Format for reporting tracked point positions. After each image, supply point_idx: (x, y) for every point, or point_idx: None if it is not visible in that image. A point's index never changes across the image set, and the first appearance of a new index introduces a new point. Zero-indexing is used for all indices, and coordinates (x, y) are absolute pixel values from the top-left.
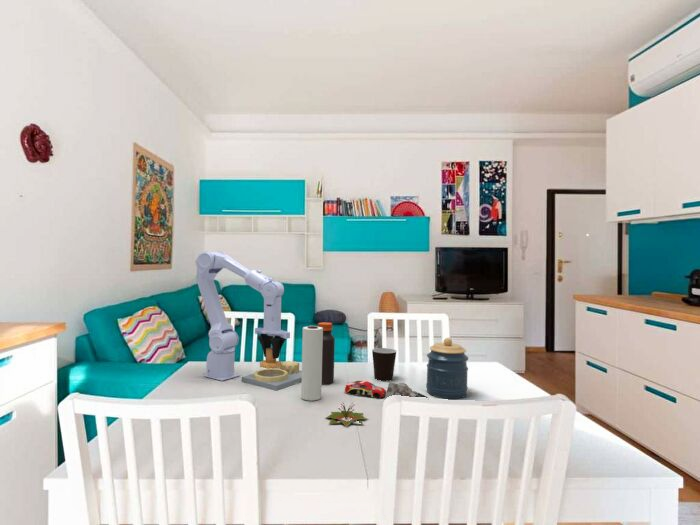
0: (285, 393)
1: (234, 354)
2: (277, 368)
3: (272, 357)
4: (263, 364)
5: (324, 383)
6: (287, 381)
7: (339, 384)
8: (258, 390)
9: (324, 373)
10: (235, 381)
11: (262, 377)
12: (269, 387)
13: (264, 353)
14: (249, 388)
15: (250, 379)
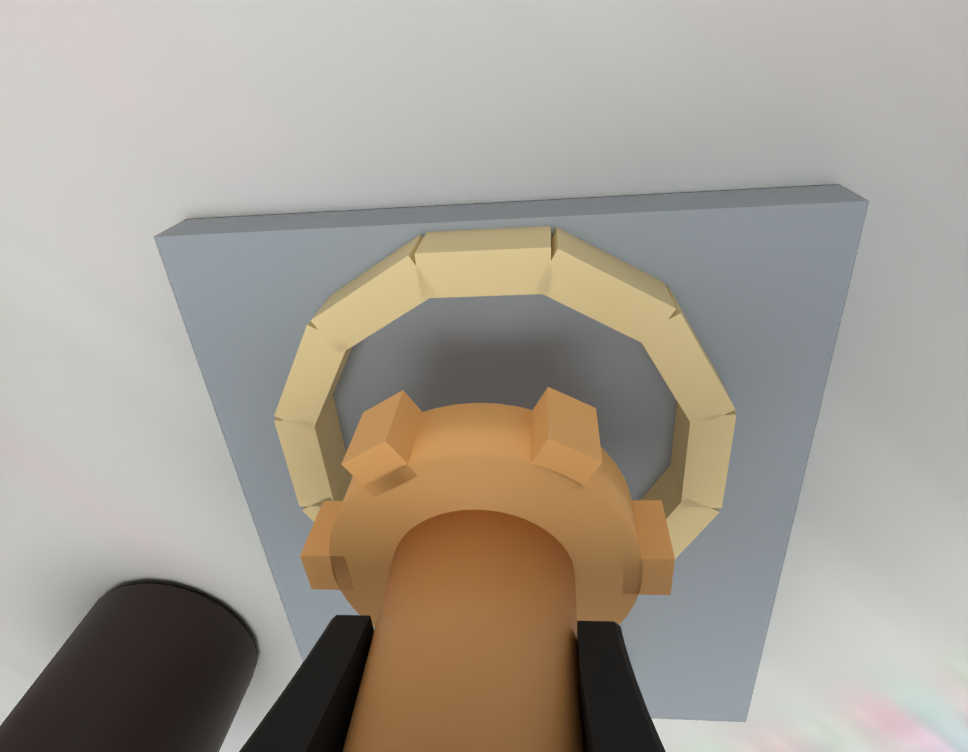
0: (36, 215)
1: None
2: (708, 667)
3: (375, 630)
4: (490, 437)
5: (97, 601)
6: (238, 430)
7: (60, 647)
8: (327, 60)
9: (36, 681)
10: (928, 120)
11: (415, 258)
12: (290, 216)
13: (601, 680)
14: (491, 30)
15: (659, 209)
